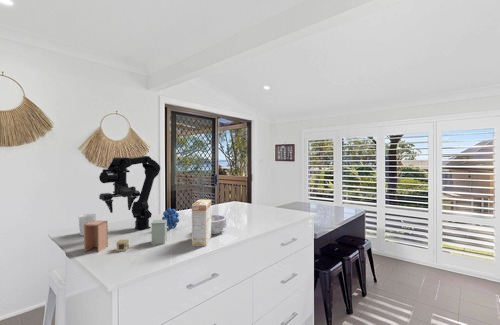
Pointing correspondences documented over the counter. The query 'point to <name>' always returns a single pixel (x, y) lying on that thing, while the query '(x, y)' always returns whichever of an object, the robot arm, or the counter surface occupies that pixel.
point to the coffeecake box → (201, 222)
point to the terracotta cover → (95, 235)
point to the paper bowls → (217, 223)
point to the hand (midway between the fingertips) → (120, 211)
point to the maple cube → (122, 245)
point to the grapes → (171, 217)
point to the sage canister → (159, 231)
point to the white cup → (85, 221)
